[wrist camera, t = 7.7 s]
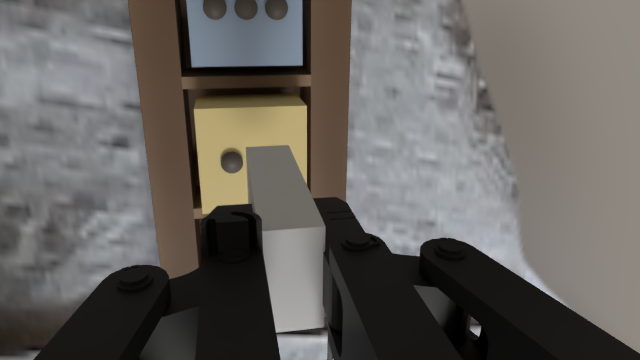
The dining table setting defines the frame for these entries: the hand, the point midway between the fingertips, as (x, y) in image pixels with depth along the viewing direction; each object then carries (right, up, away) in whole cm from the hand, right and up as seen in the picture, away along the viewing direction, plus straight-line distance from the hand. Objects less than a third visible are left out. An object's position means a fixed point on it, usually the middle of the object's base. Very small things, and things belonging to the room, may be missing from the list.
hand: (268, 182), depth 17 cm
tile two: (-2, +2, +6) cm, 6 cm away
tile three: (-2, +8, +5) cm, 9 cm away
